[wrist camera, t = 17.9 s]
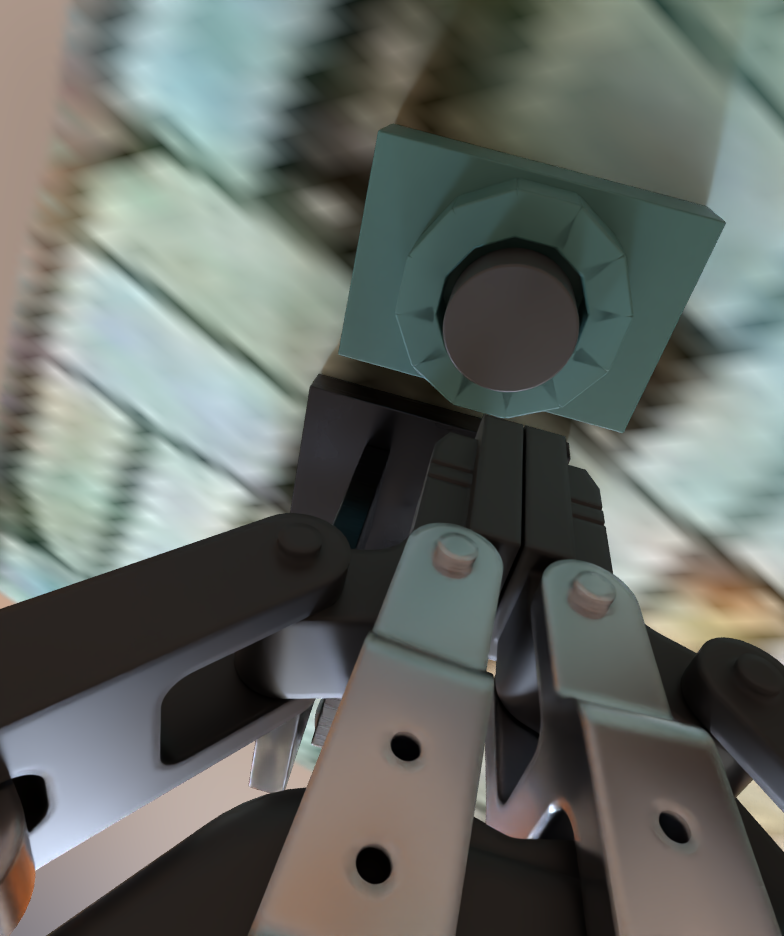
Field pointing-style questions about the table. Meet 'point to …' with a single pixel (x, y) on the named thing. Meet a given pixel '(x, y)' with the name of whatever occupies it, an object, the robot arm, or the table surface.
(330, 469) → the bracket
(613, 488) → the table surface
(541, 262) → the button
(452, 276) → the button box
